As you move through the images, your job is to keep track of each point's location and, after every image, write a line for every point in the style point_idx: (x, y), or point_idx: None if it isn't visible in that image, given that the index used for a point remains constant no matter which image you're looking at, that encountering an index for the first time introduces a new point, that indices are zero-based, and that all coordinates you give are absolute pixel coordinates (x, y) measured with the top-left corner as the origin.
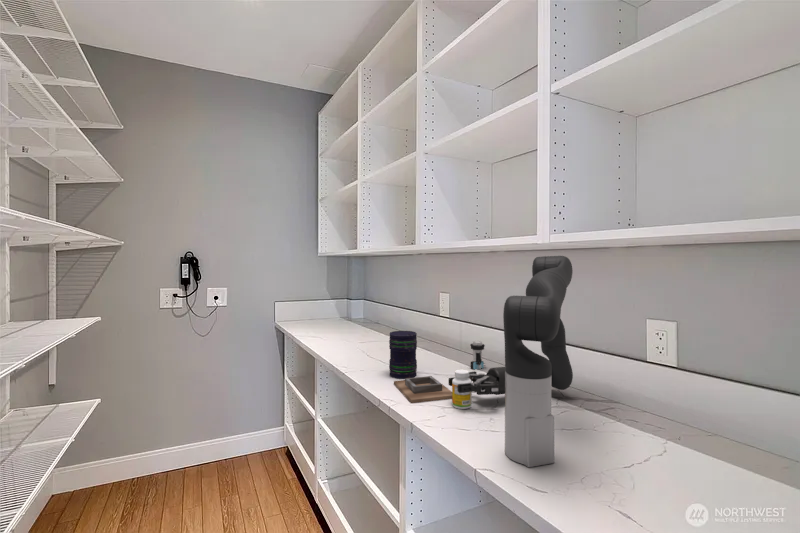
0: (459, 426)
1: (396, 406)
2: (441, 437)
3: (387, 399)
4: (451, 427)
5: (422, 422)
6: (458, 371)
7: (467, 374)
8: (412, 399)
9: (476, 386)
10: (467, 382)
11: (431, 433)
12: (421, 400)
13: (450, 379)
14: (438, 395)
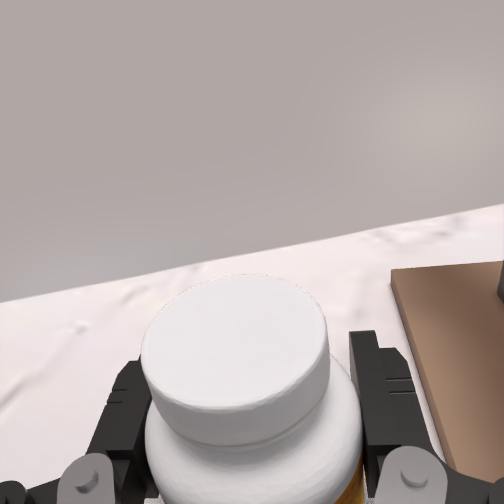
0: (41, 393)
1: (361, 241)
2: (27, 310)
3: (453, 224)
4: (60, 360)
5: (170, 286)
6: (244, 298)
7: (145, 377)
8: (396, 274)
9: (39, 500)
10: (146, 422)
11: (75, 292)
12: (403, 315)
13: (349, 339)
14: (467, 407)
